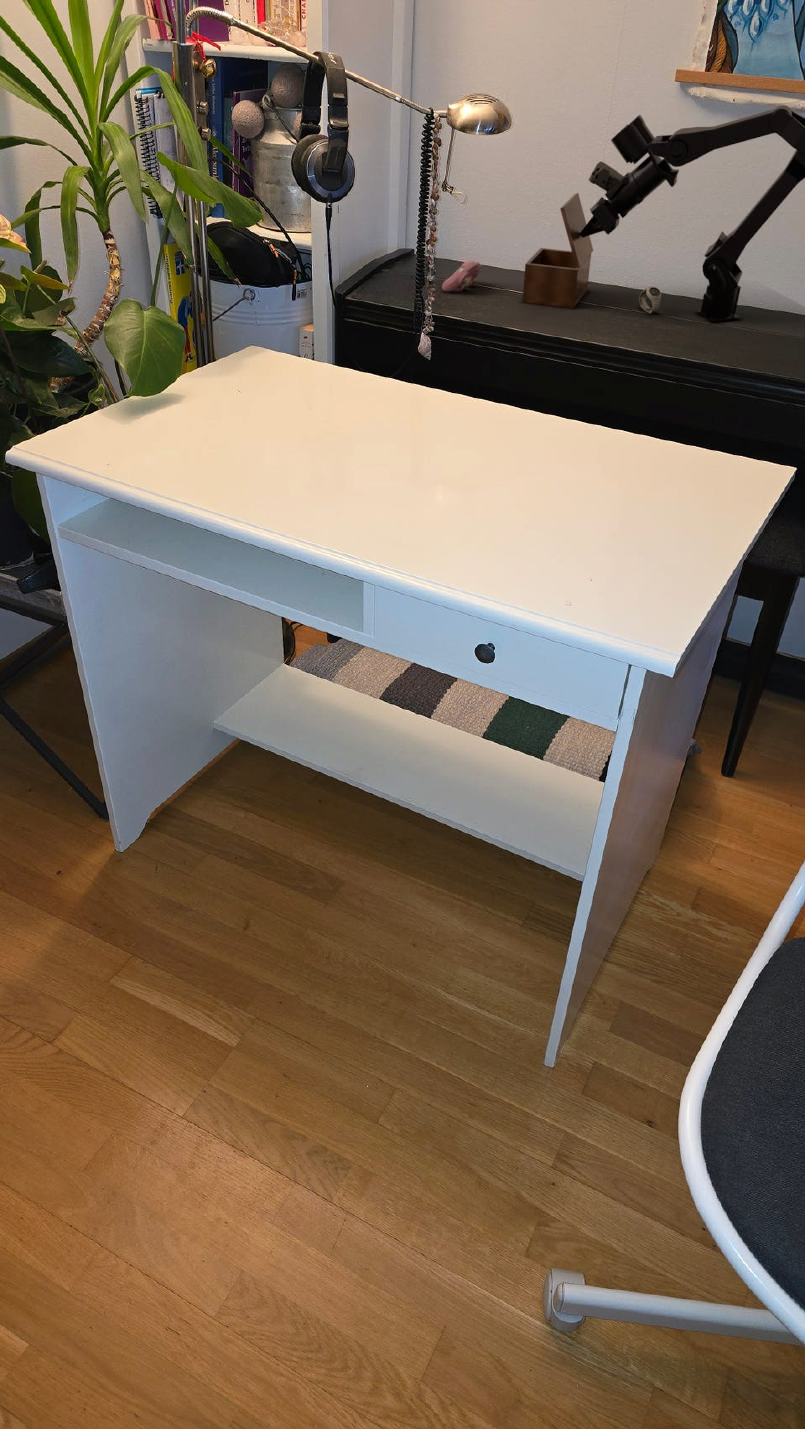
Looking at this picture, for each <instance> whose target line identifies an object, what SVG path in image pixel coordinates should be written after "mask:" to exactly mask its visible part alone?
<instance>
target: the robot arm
mask: <svg viewBox="0 0 805 1429" xmlns="http://www.w3.org/2000/svg"><path fill="white" fill-rule="evenodd" d="M772 134H776V135H778V136H779V137H780V138H782V139H783V140H784V141H785V142H786V143H787V144H788V145H789V146H791V148H793V149H794V150H795V151H794V152H793V154H792V155H791V158H790V159H789V161H788V163H787V165H786V166H785V168H784V169H783V170H782V172H781V173H780V174H779V175H778V176H777V178H776V179H775V180H774V181H773V182H772V184H771V185H770V186H769V187H768V188H767V189H766V191H765V192H764V193H763V195H762V196H761V197H760V198H759V199H758V201H756V203H755V204H754V205H753V207H752V208H751V209H750V210H749V212H748V213H747V214H746V215H745V216H744V217H743V219H742V220H741V222H740V223H739V224H738V225H737V226H736V227H735V228H734V230H732V231H731V232H730V233H728V234H727V235H726V233H725V232H724V231H720V234H719V235H718V237H717V239H716V241H715V242H713V244H711V245H709V246H708V248H707V250H706V252H705V253H704V258H705V259H704V261H703V263H702V266H701V267H702V274H703V276H704V277H705V279H706V280H708V284H707V285H706V291H705V293H704V294H703V296H702V297H703V298H702V303H701V308H700V309H698V310H697V314H698V315H700V316H702V317H703V318H705V319H707V320H709V321H710V322H712V323H719V322H727V321H734V320H739V319H740V316H739V315H738V314H736V311H737V307H738V303H739V298H740V293H741V290H742V286H740V285H739V283H740V280H741V278H742V275H743V273H744V272H743V270H742V269H741V267H740V266H739V265H738V263H737V262H738V260H739V258H740V257H741V255H742V254H743V251H744V250H745V248H746V246H747V245H748V243H749V242H750V241H751V240H752V239H753V237H754V236H755V235H756V234H757V233H758V232H759V231H760V229H761V228H762V227H763V226H764V225H765V223H766V222H767V221H768V220H769V218H771V216H772V215H773V214H774V213H775V212H776V210H777V209H778V208H779V206H780V205H781V204H782V203H783V202H784V201H785V200H786V199H787V197H788V196H789V195H790V194H791V193H792V191H793V190H794V189H795V188H796V186H798V184H800V183H801V182H802V181H803V180H805V117H804V116H802V115H801V114H798V113H796V112H795V111H794V110H792V109H791V108H790V107H789V106H788V105H785V104H783V105H778V106H777V107H774V108H773V109H770V110H766V111H763V112H759V113H756V114H752V115H749V116H746V117H742V118H738V119H735V120H731V121H728V122H725V123H721V124H717V125H714V126H713V125H712V126H693V127H683V128H680V129H677V130H676V131H675V132H673V133H672V134H665V135H664V134H663V135H656V136H654V135H653V133H652V131H651V130H650V129H649V128H648V126H647V124H646V123H645V120H644V118H643V117H642V115H641V114H639V115H637V116H636V117H635V118H634V119H633V120H632V121H631V122H630V123H629V124H625V126H624V127H622V129H621V130H619V132H618V133H616V135H614V136H613V137H612V138H611V139H610V141H611V143H612V144H613V147H614V148H615V149H616V150H617V151H618V153H619V154H620V156H621V158H622V159H623V161H624V162H625V163H626V164H633V165H636V164H637V163H638V162H639V161H641V159H642V158H644V157H645V156H646V155H647V154H648V156H647V157H645V159H644V160H643V161H642V162H641V163H639V164H638V165H637V166H636V167H635V168H634V169H633V170H632V171H630V172H629V171H628V172H627V173H626V174H624V175H623V174H621V173H619V171H618V170H616V169H614V168H613V167H611V166H610V165H608V164H607V163H606V162H603V161H599V162H598V163H597V164H596V165H595V167H594V169H593V171H592V172H591V174H590V176H589V178H588V182H590V183H591V184H592V185H596V186H597V187H599V188H600V189H602V190H603V191H605V193H604V196H605V197H606V198H604V197H603V196H601V197H600V198H599V199H598V201H596V202H595V204H594V205H592V206H591V207H590V209H589V211H590V213H591V214H592V217H591V218H590V219H589V220H588V222H586V226H585V227H584V228H583V230H582V231H581V232H580V235H581V237H582V238H583V237H586V236H592V235H595V234H598V233H602V232H604V233H605V234H606V235H610V234H611V233H612V232H614V230H616V229H617V227H618V226H619V225H620V219H621V218H622V219H624V218H625V217H626V216H627V215H628V214H629V213H630V212H631V211H632V210H633V209H634V208H636V207H637V206H638V205H640V204H641V203H642V202H644V200H645V199H647V197H648V196H649V195H651V194H652V193H653V192H654V191H655V190H657V189H658V188H659V187H660V186H661V185H662V184H663V183H664V182H665V181H666V182H667V183H668V186H670V187H671V188H674V186H675V185H676V184H677V182H678V174H679V173H680V170H679V169H677V168H678V167H683V166H686V165H687V164H689V163H692V162H694V161H695V160H699V159H700V158H702V157H703V156H705V155H707V154H708V153H711V152H713V151H715V150H719V149H722V148H726V147H730V146H732V145H736V144H740V143H743V142H747V141H750V140H751V141H752V140H755V139H758V138H760V137H766V136H769V135H772ZM672 167H674V168H672ZM675 168H676V169H675Z"/></svg>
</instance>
